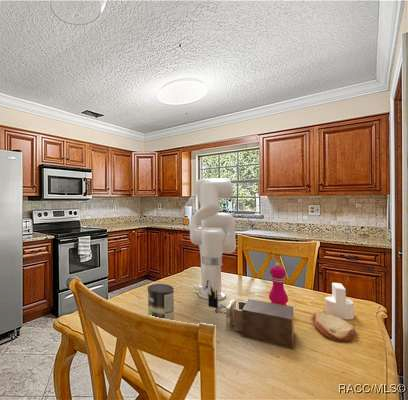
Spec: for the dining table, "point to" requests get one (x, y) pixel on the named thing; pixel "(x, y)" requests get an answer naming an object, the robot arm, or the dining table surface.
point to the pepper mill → (278, 285)
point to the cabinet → (268, 322)
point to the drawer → (232, 315)
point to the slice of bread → (334, 327)
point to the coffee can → (161, 301)
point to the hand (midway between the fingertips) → (213, 306)
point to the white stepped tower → (339, 303)
